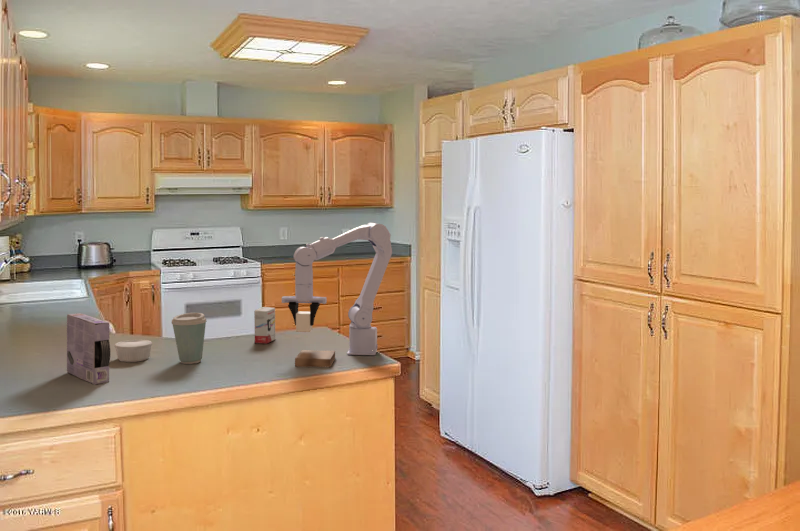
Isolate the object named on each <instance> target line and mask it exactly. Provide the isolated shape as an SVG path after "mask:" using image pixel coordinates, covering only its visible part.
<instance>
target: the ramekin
mask: <svg viewBox="0 0 800 531" xmlns="http://www.w3.org/2000/svg"><path fill="white" fill-rule="evenodd" d="M152 345H153V342H152V341H151V340H148V339H129V340H128V339H127V340H122V341H118V342H116V343H114V348H115V352H116V357H117V359H118V360H119V362H123V363H138V362H143V361H147V360H148V359H149V358H150V357H151V352H152V351H151V350H152Z"/></svg>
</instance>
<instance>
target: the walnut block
mask: <svg viewBox="0 0 800 531" xmlns="http://www.w3.org/2000/svg"><path fill="white" fill-rule="evenodd" d="M334 359H335V360H336V351H335V350H315V349H314V350H311V349H310V350H309V349H307V350H306V349H302V350H300V352H299V353H298V354H297V355H296V357H294V364H295V365H294V367H302V368H303V367H306V368H331V366H332V365H333V363H334V362H333V361H335V360H334Z"/></svg>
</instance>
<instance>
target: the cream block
mask: <svg viewBox="0 0 800 531" xmlns="http://www.w3.org/2000/svg"><path fill="white" fill-rule="evenodd" d="M310 317H311V315H310V311H300V310H298V312H297V313H296V325H295V333H311V332H312V330H313V326H310Z"/></svg>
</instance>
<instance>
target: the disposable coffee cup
mask: <svg viewBox="0 0 800 531" xmlns="http://www.w3.org/2000/svg"><path fill="white" fill-rule="evenodd" d="M205 316H206V315H205V314H204V313H202V312H186V313H181V314H178V315H175V316H174V317H172V319H171V325H172V329H173V334H174V339H175V344H176V345H175V346H176V348H177V354H178V359H179V361H180V363H181V364H182V365H183V364H184V365H191V364H192V365H193V364H197V363H200V362H201V361H202V360H203V352H204V343H205V333H206V323H207V318H206V317H205Z"/></svg>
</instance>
